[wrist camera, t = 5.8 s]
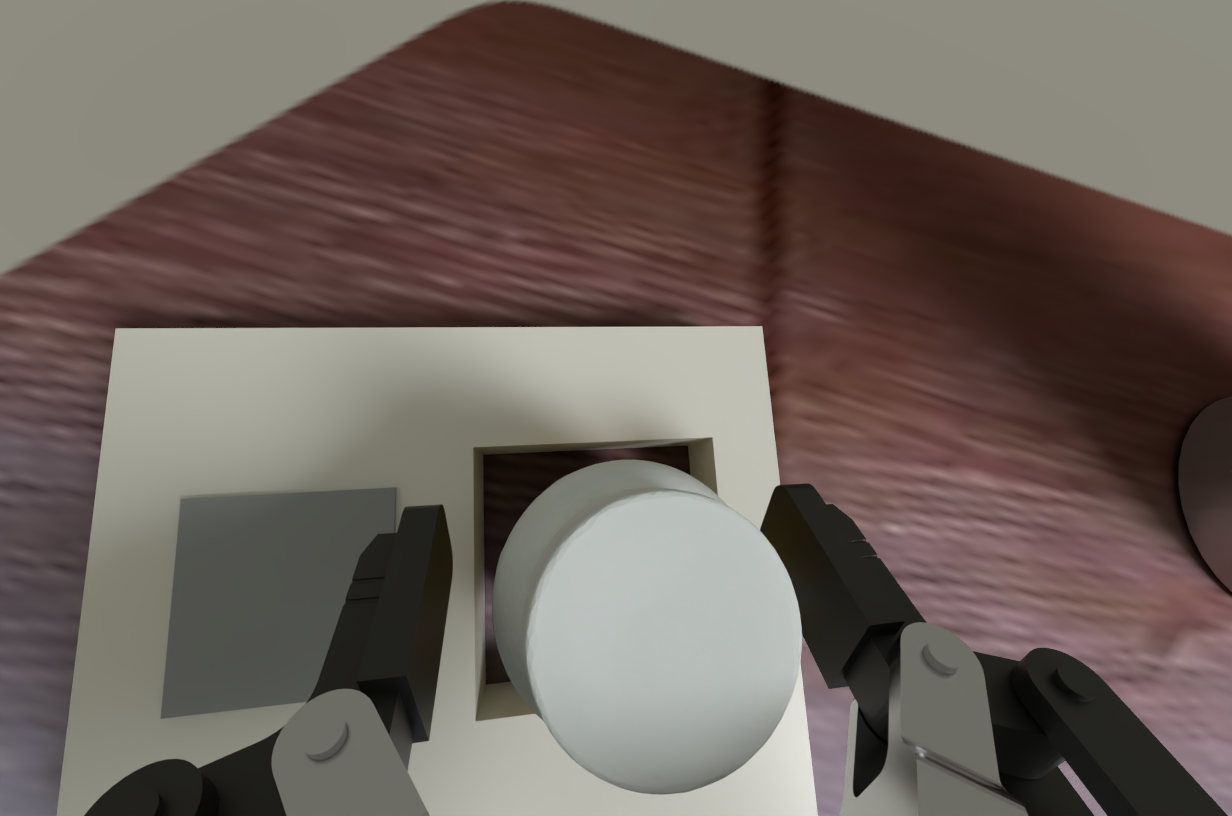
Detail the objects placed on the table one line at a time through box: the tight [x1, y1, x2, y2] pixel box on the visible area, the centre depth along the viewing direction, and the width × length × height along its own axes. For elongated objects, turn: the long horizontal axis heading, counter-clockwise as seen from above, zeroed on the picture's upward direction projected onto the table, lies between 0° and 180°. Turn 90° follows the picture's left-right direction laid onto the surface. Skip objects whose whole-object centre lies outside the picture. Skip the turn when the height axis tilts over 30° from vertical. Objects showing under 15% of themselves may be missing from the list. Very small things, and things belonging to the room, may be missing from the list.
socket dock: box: [57, 326, 818, 816], centre depth 14 cm, size 18×14×3 cm
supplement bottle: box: [492, 460, 802, 795], centre depth 11 cm, size 5×5×10 cm
